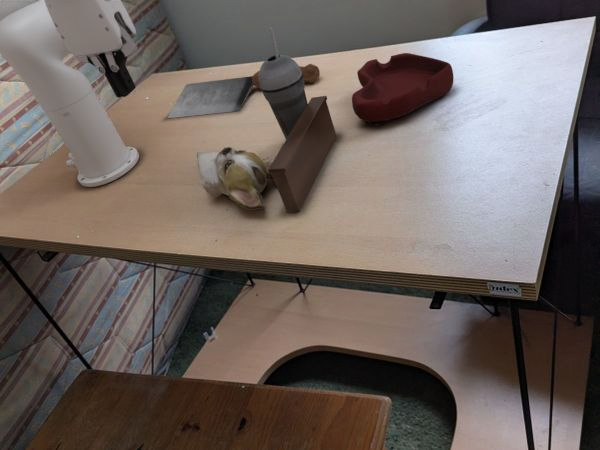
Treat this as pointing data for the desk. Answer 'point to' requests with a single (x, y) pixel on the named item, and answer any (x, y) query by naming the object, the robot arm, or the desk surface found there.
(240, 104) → the meat cleaver
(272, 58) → the beverage cup
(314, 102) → the backboard
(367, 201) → the desk surface
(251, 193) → the ceramic sculpture
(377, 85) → the ashtray
